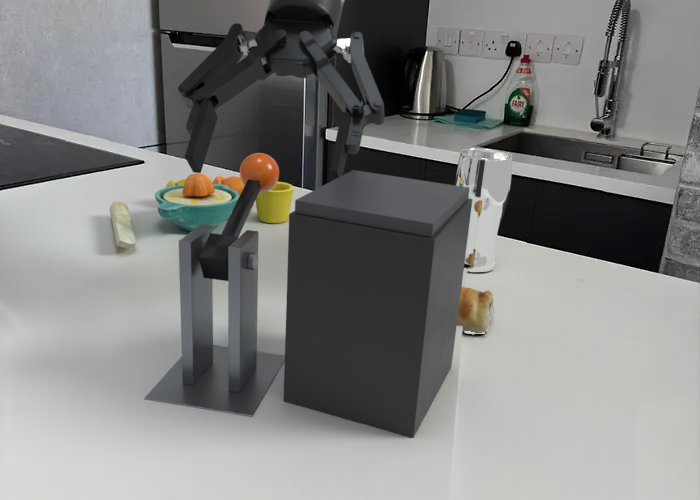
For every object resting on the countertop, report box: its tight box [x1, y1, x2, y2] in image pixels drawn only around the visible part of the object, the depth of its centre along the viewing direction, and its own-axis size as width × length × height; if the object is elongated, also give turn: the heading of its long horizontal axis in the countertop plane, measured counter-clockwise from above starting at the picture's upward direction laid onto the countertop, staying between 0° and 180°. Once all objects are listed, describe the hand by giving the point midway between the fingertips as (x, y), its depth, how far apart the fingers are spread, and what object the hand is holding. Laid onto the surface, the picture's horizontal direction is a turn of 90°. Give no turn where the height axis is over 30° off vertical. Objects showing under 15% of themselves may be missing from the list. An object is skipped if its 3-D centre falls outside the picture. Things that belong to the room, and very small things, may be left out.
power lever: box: [198, 152, 280, 282], centre depth 58 cm, size 14×4×4 cm, turn 169°
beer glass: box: [454, 147, 514, 270], centre depth 88 cm, size 7×7×15 cm
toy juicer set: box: [109, 172, 295, 248], centre depth 99 cm, size 29×18×8 cm, turn 132°
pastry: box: [457, 286, 495, 333], centre depth 74 cm, size 9×7×4 cm
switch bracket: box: [144, 225, 285, 418], centre depth 56 cm, size 10×9×14 cm
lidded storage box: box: [283, 169, 472, 439], centre depth 56 cm, size 12×12×18 cm
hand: (262, 172), depth 63 cm, fingers open, 13 cm apart
